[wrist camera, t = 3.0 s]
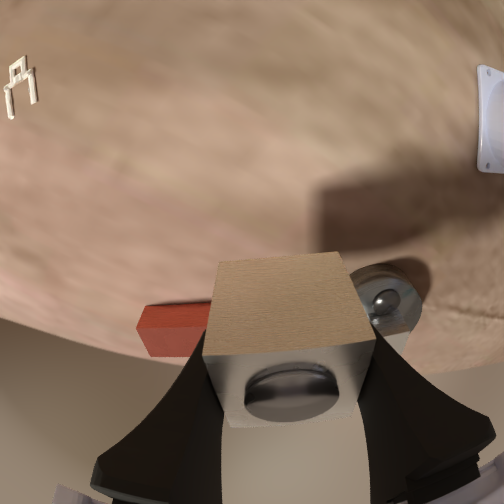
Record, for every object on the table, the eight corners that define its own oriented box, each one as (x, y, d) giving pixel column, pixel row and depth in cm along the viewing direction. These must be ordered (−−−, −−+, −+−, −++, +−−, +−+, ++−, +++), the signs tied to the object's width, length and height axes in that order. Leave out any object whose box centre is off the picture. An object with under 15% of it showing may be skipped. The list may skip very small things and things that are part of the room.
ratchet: (416, 259, 19) (447, 298, 15) (399, 325, 22) (419, 366, 18) (137, 286, 20) (115, 331, 16) (164, 349, 24) (152, 392, 20)
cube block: (337, 251, 12) (379, 346, 7) (331, 333, 14) (352, 422, 10) (218, 262, 12) (200, 363, 7) (235, 342, 15) (230, 433, 10)
